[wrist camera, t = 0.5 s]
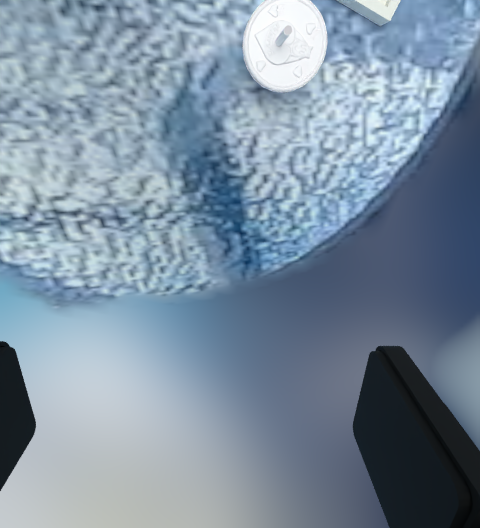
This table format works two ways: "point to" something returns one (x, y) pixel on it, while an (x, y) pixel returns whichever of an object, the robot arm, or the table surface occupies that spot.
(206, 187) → the table surface
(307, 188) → the table surface
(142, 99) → the table surface
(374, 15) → the pin tray
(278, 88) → the smoothie
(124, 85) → the table surface
